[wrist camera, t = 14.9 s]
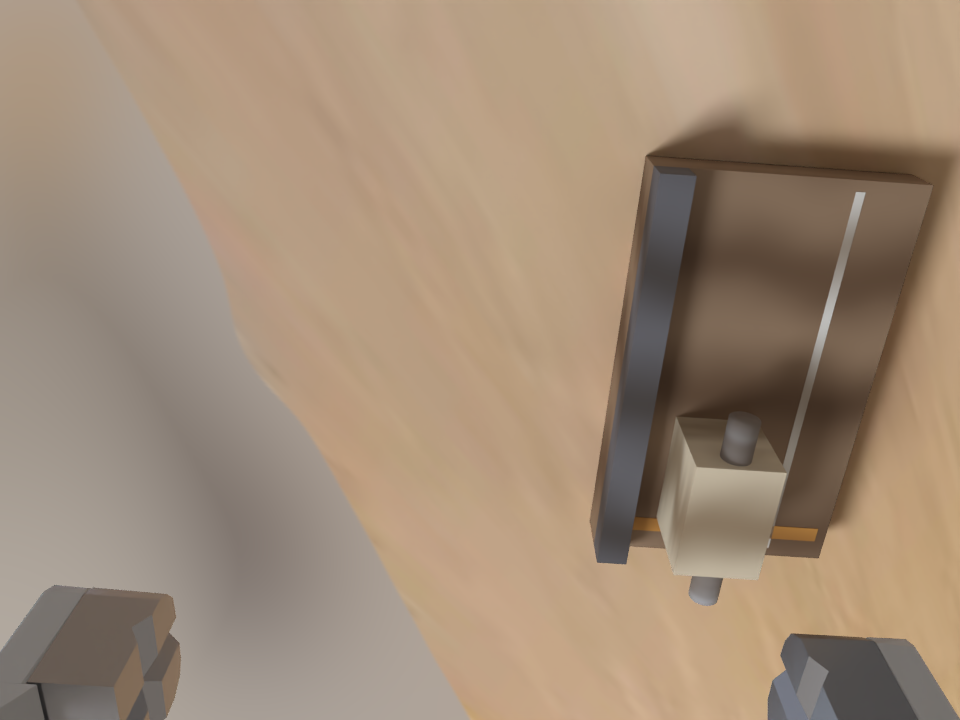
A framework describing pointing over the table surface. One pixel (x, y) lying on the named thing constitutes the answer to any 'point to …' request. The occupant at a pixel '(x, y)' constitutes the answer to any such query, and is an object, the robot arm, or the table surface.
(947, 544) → the table surface
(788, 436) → the board
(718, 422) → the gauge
